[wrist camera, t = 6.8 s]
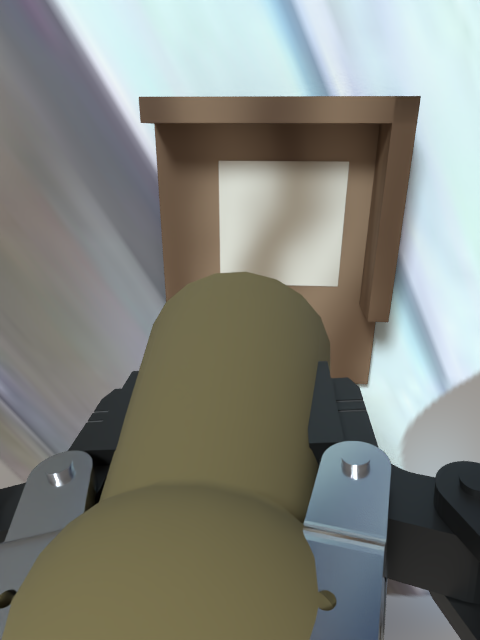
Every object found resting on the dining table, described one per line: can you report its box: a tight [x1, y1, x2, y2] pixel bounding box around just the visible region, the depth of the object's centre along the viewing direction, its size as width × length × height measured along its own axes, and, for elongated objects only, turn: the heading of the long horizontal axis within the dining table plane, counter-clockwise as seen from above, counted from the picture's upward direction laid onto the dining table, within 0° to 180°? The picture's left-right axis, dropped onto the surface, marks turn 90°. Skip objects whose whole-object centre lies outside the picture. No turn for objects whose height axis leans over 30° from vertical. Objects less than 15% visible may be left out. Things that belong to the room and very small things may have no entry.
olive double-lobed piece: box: [1, 272, 333, 640], centre depth 10 cm, size 6×6×11 cm
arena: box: [139, 96, 421, 384], centre depth 27 cm, size 14×18×4 cm
